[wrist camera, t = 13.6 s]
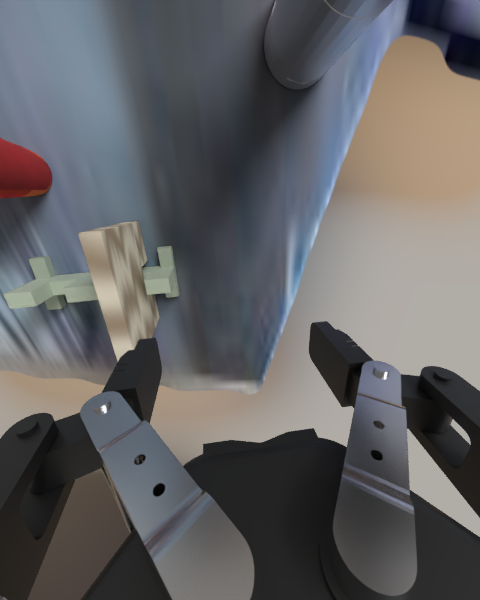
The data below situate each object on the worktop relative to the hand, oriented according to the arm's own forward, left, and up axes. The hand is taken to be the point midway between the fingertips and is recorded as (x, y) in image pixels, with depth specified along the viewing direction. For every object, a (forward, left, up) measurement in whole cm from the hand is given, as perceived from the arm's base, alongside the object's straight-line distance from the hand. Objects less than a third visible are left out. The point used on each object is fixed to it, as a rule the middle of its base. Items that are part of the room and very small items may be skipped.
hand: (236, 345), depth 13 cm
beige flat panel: (+3, -12, -30) cm, 32 cm away
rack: (+3, -17, -30) cm, 34 cm away
